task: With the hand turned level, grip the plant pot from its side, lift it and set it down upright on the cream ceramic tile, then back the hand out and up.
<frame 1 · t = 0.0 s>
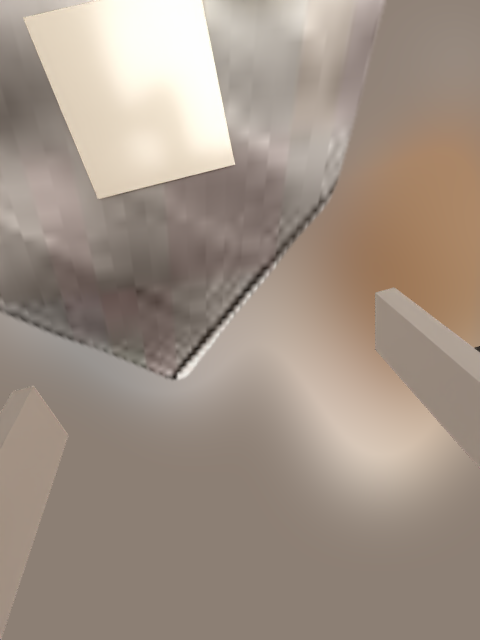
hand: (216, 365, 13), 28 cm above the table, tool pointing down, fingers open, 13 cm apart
tile: (143, 100, 32), on the table
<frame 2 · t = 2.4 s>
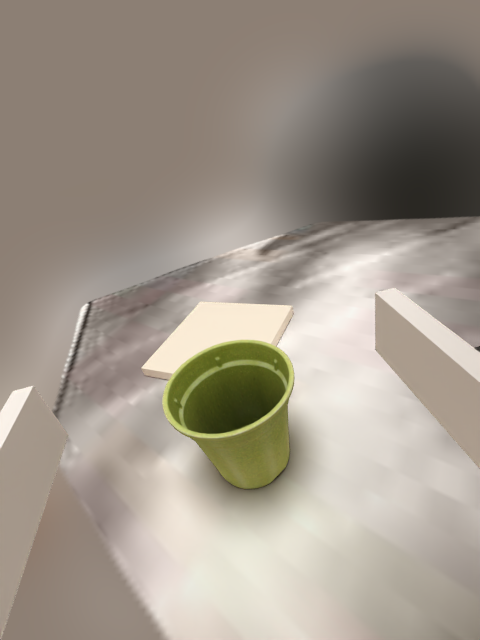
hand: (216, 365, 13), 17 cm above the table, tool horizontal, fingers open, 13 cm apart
tile: (221, 343, 43), on the table
plant pot: (254, 455, 29), on the table
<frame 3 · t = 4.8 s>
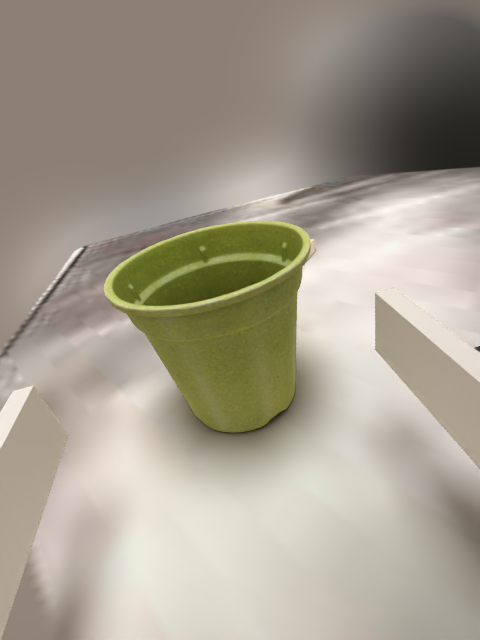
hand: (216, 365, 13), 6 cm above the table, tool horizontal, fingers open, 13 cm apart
plant pot: (244, 394, 20), on the table
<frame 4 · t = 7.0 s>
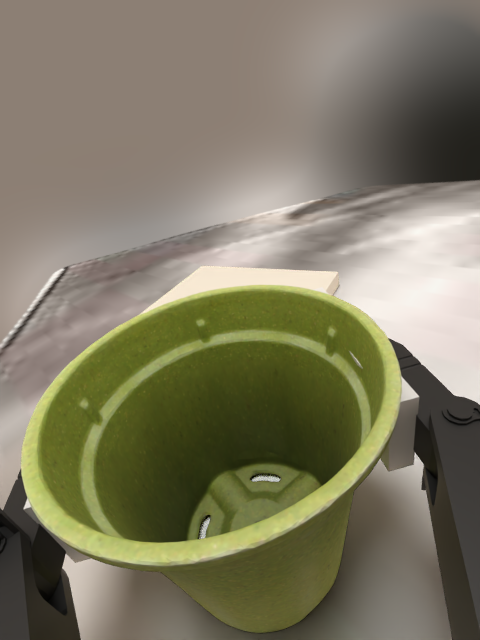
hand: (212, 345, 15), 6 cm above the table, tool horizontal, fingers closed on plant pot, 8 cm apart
tile: (225, 321, 28), on the table
plant pot: (263, 535, 14), on the table, touching gripper
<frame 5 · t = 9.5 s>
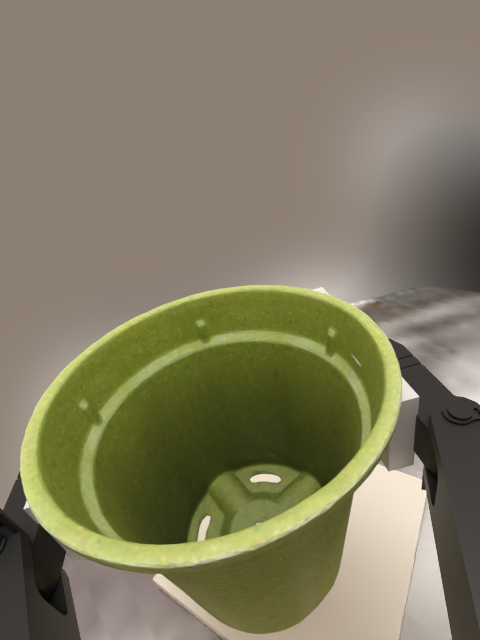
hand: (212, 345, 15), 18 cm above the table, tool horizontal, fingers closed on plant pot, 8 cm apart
tile: (297, 538, 24), on the table
plant pot: (263, 536, 14), point 11 cm above the table, touching gripper
when the fingers open (8 cm above the table, at t = 12.1 s): plant pot drops 1 cm, resting on tile.
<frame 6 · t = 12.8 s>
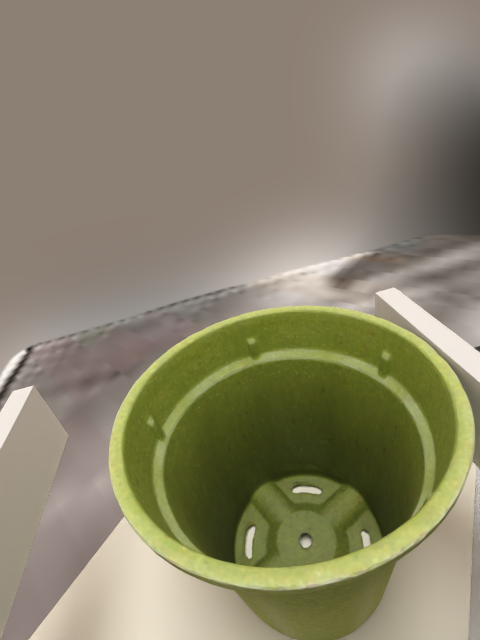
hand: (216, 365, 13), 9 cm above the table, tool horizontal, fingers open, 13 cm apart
tile: (271, 561, 15), on the table
plant pot: (307, 546, 14), point 1 cm above the table, touching tile
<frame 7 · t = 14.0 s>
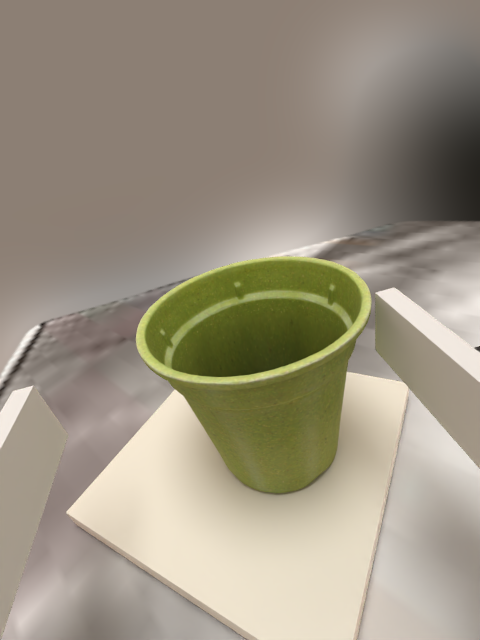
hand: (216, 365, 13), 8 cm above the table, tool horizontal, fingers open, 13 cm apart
tile: (252, 457, 20), on the table
plant pot: (279, 442, 19), point 1 cm above the table, touching tile
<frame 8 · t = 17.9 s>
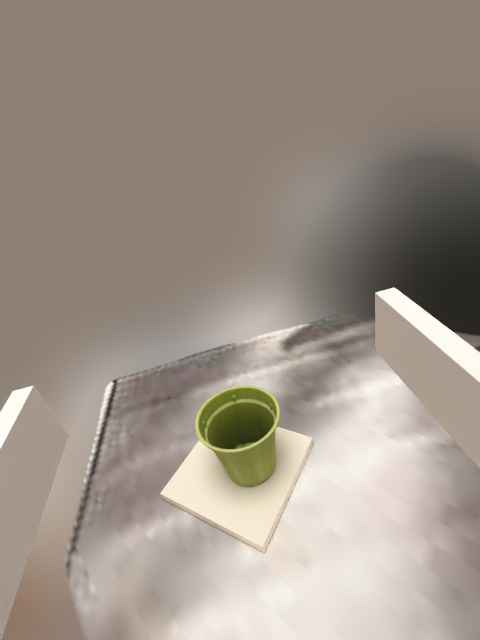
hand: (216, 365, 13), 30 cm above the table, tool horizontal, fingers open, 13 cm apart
tile: (240, 470, 43), on the table
plant pot: (251, 464, 43), point 1 cm above the table, touching tile
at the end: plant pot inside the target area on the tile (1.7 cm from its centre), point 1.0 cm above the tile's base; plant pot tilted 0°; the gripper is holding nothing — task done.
